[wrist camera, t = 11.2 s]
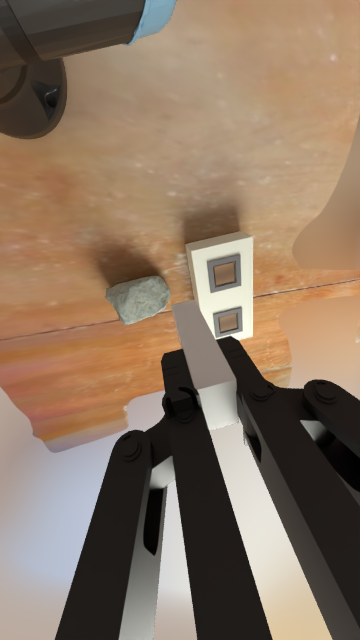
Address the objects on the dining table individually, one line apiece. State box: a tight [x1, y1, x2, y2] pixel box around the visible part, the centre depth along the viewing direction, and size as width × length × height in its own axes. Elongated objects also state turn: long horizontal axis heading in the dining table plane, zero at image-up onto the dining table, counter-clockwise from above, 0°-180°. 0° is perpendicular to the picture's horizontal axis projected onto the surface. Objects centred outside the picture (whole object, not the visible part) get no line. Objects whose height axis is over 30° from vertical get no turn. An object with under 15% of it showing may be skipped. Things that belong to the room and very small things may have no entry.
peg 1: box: [213, 262, 235, 285], centre depth 46 cm, size 4×4×6 cm
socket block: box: [185, 231, 253, 340], centre depth 49 cm, size 24×12×6 cm, turn 11°
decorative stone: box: [105, 276, 171, 325], centre depth 46 cm, size 13×11×10 cm
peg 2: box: [218, 313, 237, 332], centre depth 53 cm, size 4×4×6 cm
